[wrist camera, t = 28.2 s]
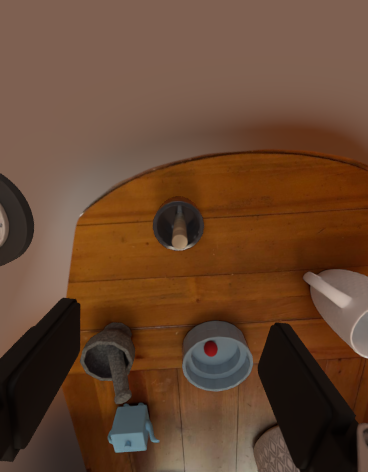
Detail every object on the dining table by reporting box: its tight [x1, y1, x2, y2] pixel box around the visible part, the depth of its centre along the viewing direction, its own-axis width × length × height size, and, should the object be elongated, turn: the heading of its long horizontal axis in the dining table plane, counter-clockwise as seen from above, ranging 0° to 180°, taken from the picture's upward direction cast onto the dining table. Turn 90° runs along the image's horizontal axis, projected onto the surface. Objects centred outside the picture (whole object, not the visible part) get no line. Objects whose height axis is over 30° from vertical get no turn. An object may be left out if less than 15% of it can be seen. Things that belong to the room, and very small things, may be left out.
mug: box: [303, 269, 368, 358], centre depth 35 cm, size 15×11×13 cm
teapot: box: [108, 403, 159, 452], centre depth 47 cm, size 12×6×8 cm, turn 95°
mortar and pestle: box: [80, 323, 135, 404], centre depth 39 cm, size 11×9×12 cm
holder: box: [153, 196, 204, 251], centre depth 33 cm, size 8×8×7 cm
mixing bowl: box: [182, 321, 253, 391], centre depth 43 cm, size 14×14×5 cm
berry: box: [204, 341, 218, 357], centre depth 43 cm, size 3×3×3 cm
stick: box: [172, 212, 188, 249], centre depth 30 cm, size 2×2×14 cm
